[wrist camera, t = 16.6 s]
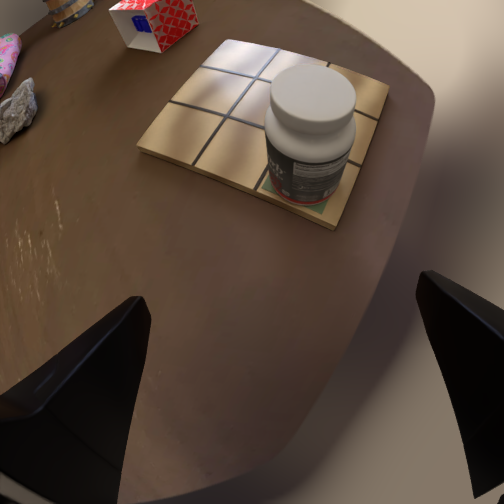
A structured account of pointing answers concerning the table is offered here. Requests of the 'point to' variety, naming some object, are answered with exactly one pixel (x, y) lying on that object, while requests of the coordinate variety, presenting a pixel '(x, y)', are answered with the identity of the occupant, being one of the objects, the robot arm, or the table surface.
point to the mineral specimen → (17, 110)
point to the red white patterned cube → (153, 22)
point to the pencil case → (8, 58)
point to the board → (251, 124)
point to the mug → (67, 10)
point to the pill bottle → (309, 132)
